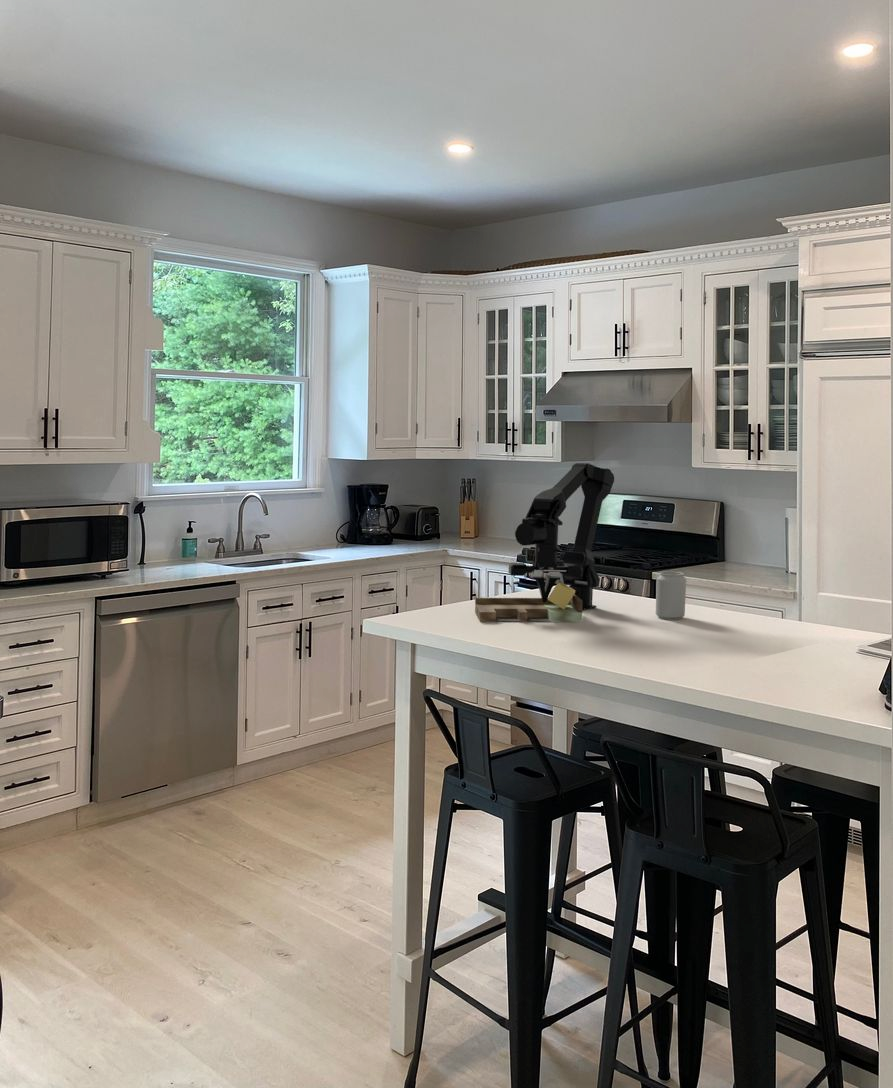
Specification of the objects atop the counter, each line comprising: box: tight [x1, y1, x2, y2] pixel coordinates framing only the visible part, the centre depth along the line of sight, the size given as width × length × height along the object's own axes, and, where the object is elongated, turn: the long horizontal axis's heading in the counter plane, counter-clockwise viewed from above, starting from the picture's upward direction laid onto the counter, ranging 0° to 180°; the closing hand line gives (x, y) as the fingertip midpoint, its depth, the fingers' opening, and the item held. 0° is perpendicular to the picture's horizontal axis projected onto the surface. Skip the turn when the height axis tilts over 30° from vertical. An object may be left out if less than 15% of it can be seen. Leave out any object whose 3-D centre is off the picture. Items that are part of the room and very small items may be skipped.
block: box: [548, 580, 575, 609], centre depth 254 cm, size 5×5×5 cm
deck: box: [474, 594, 583, 623], centre depth 254 cm, size 26×13×6 cm, turn 94°
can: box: [655, 571, 687, 621], centre depth 256 cm, size 8×8×12 cm
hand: (544, 602), depth 256 cm, fingers closed
